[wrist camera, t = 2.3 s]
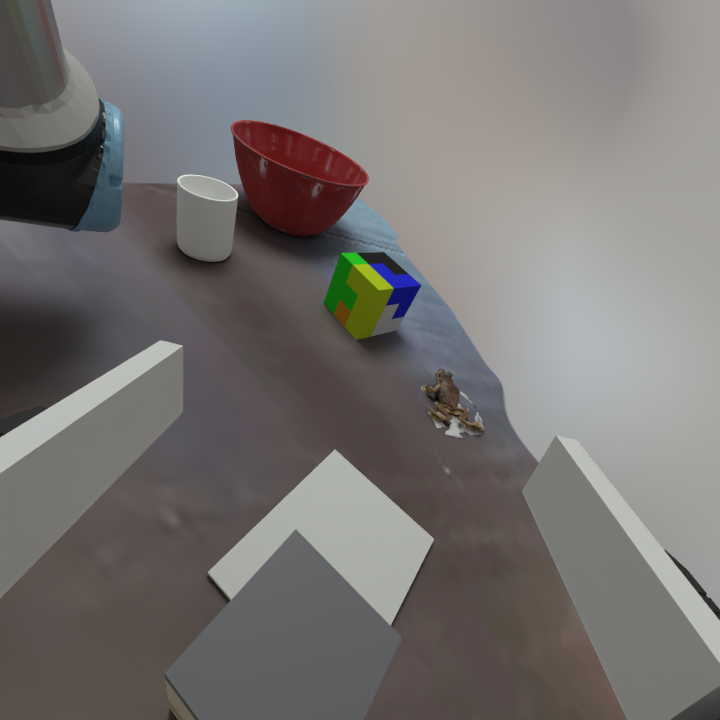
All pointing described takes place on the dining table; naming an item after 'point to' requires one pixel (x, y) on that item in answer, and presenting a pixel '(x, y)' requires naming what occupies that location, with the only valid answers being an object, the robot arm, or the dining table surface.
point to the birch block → (286, 647)
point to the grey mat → (337, 536)
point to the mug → (205, 217)
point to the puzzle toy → (370, 293)
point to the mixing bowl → (294, 178)
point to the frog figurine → (451, 407)
